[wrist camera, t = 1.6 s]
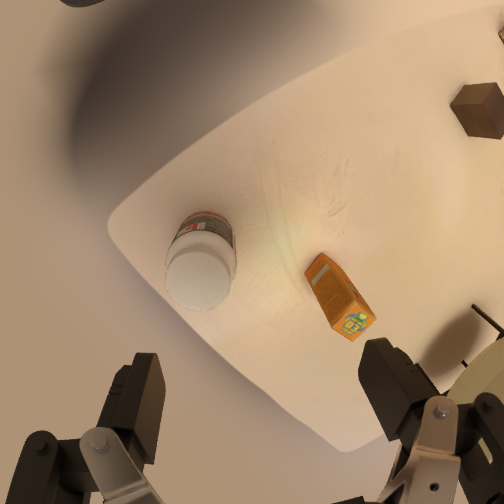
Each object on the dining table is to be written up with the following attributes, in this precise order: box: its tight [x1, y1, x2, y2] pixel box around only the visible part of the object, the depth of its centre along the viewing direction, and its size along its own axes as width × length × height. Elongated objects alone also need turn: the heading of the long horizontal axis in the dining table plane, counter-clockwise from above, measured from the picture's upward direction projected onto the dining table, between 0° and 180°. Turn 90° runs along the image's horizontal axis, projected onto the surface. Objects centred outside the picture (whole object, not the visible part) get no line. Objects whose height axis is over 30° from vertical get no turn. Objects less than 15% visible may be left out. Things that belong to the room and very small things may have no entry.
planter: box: [415, 304, 504, 464], centre depth 28 cm, size 15×16×23 cm
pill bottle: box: [165, 212, 237, 311], centre depth 25 cm, size 6×6×10 cm
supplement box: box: [305, 254, 376, 341], centre depth 27 cm, size 3×3×10 cm
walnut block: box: [450, 83, 504, 140], centre depth 23 cm, size 5×5×6 cm
